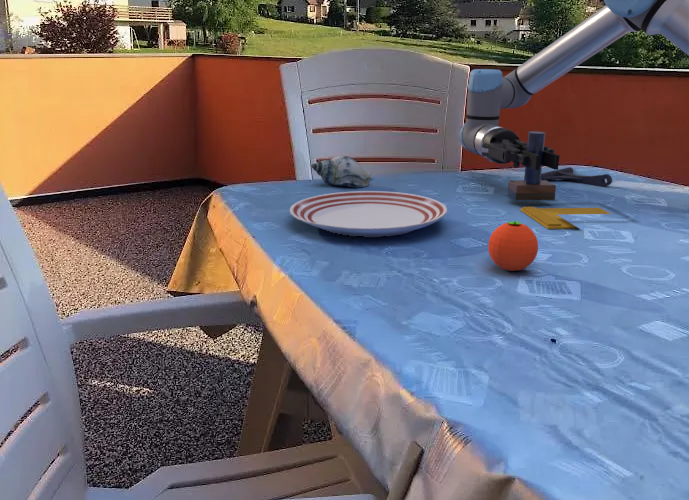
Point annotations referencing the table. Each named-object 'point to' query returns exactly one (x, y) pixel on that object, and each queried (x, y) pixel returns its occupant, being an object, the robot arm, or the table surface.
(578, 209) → the yellow carpenter square
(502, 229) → the clementine
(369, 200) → the dinner plate
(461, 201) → the table surface
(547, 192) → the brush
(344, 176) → the seashell
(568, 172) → the bracket
